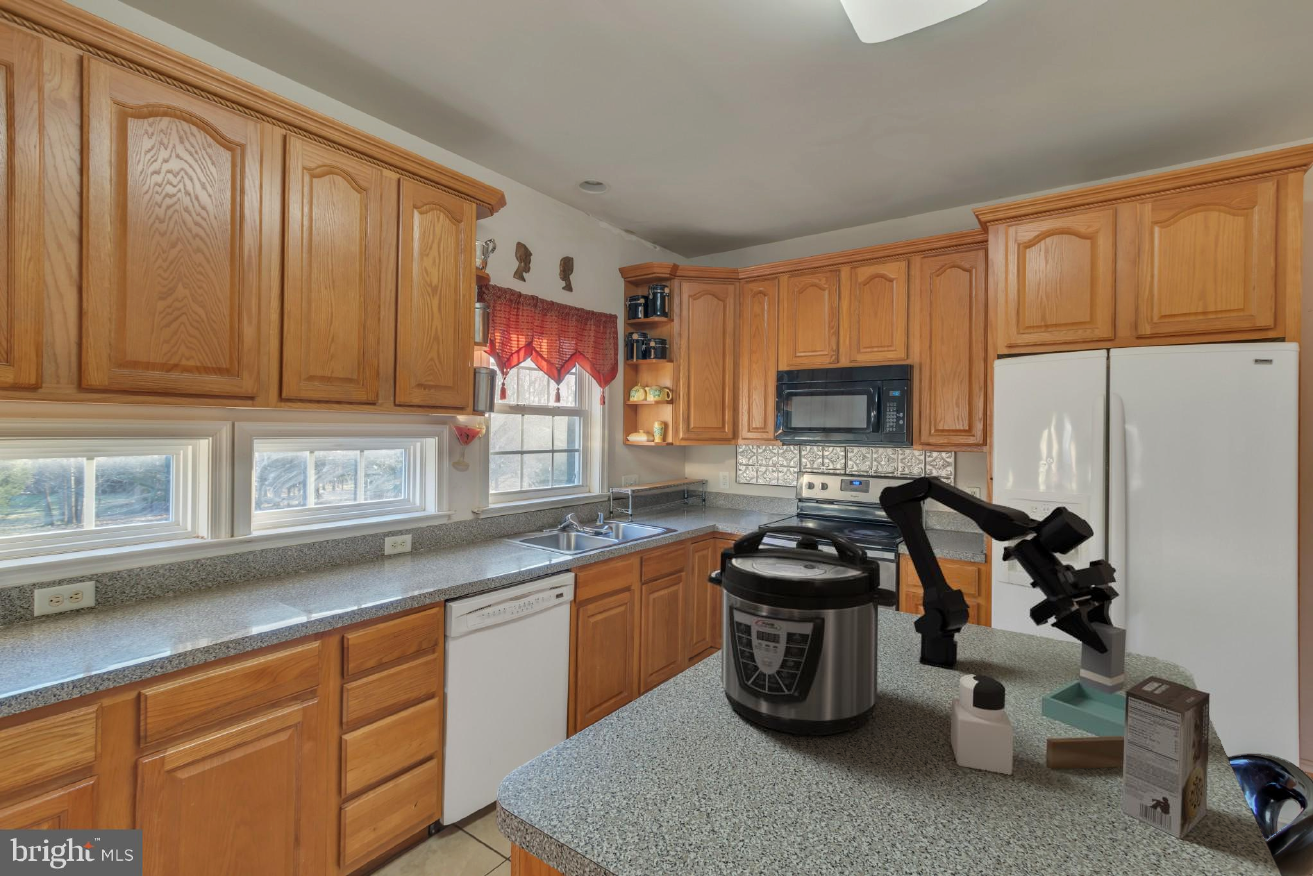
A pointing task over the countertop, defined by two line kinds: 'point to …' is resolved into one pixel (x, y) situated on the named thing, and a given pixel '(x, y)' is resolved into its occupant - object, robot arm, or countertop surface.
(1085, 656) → the grey upright cuboid
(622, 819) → the countertop surface
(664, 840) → the countertop surface
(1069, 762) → the back rail
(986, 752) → the medicine bottle
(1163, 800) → the coffee box
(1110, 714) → the tray
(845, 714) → the pressure cooker
